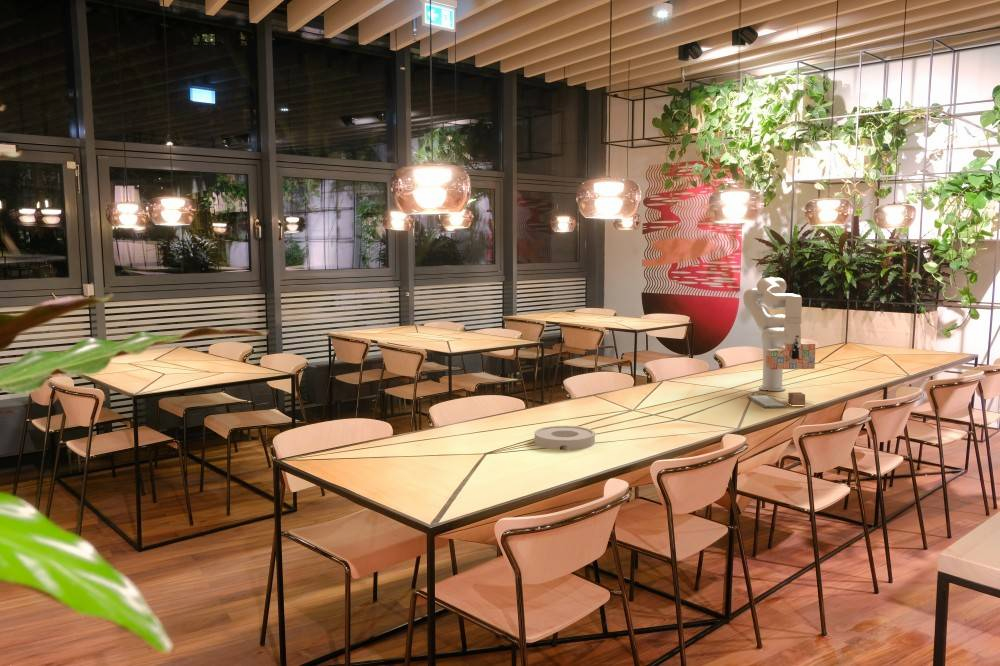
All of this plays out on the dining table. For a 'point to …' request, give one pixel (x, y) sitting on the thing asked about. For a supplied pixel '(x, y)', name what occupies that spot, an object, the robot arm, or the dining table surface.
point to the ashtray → (564, 437)
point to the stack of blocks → (791, 357)
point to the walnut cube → (796, 398)
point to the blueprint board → (766, 401)
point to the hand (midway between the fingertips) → (791, 357)
